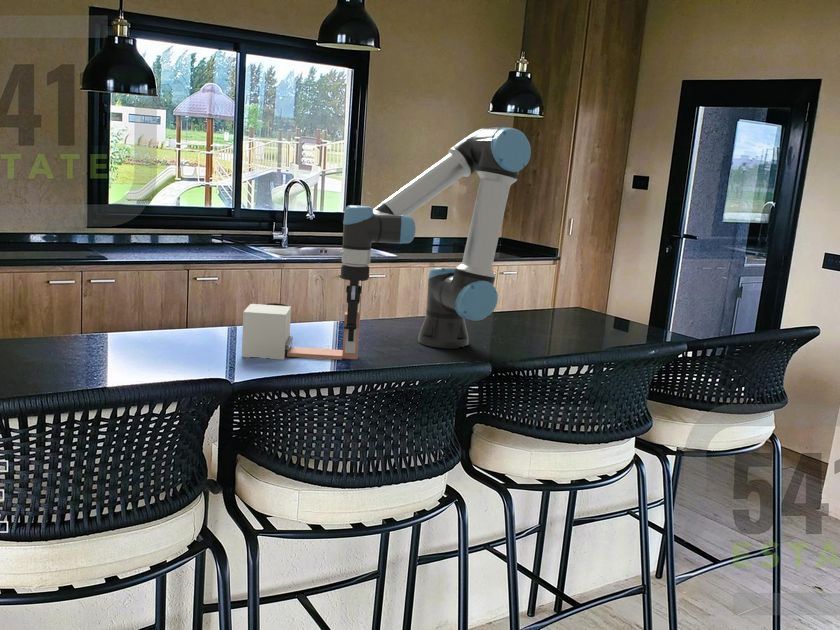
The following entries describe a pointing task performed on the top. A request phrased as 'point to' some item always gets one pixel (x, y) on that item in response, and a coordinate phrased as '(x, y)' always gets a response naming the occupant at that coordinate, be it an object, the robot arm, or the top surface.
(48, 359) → the top surface
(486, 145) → the robot arm
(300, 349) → the orange l-shaped bracket
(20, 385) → the top surface
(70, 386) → the top surface
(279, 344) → the off-white block
